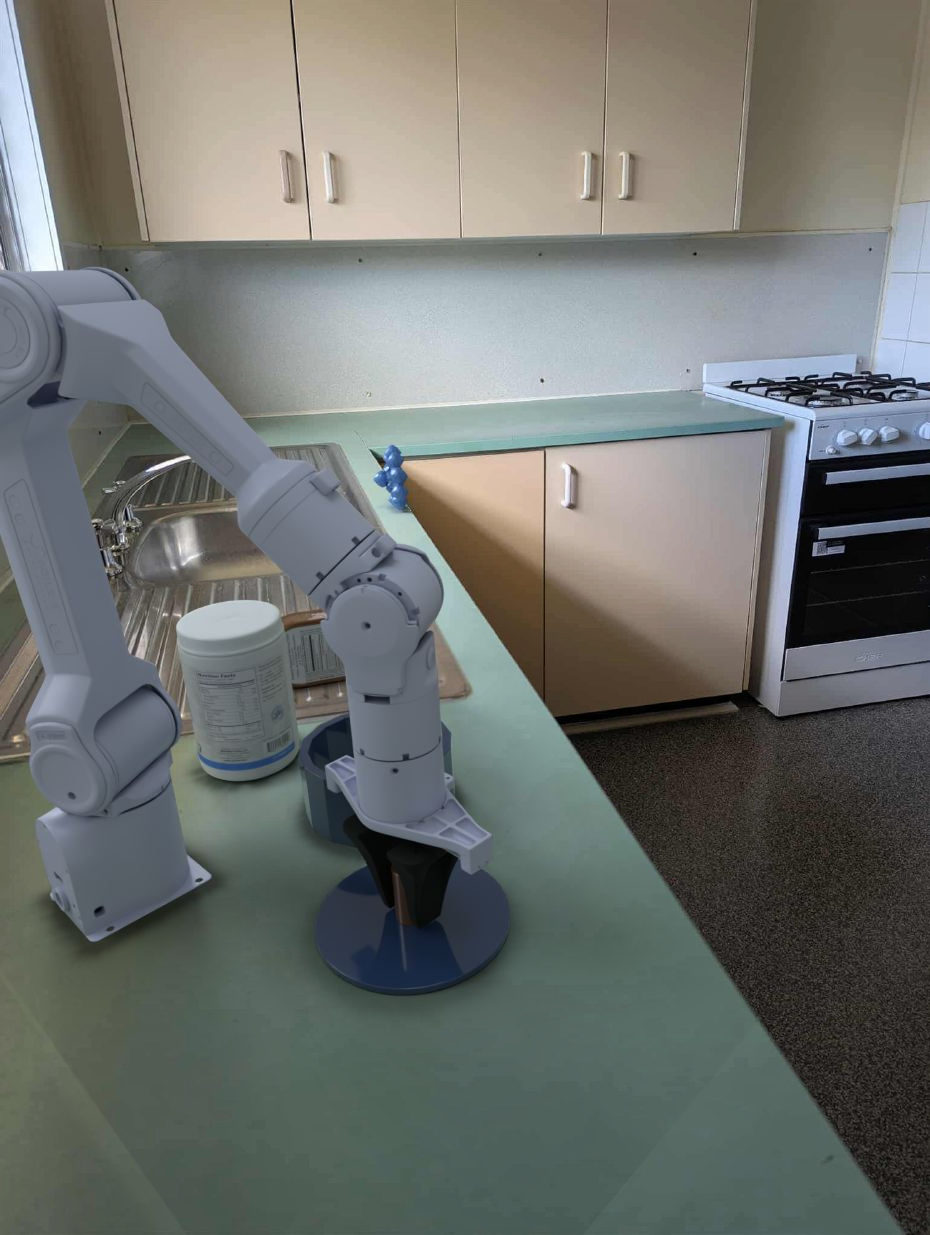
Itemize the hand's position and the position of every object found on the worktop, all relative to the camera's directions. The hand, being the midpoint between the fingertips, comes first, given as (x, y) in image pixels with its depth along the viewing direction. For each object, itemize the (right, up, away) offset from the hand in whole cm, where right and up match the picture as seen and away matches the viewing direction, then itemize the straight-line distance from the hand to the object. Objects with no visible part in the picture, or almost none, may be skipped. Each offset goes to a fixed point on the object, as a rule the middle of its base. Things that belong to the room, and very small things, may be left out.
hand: (412, 909), depth 61 cm
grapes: (-10, +41, +109) cm, 117 cm away
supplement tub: (-17, +7, +23) cm, 29 cm away
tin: (-11, +13, +39) cm, 43 cm away
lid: (0, -1, 0) cm, 1 cm away
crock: (-3, +4, +14) cm, 15 cm away
